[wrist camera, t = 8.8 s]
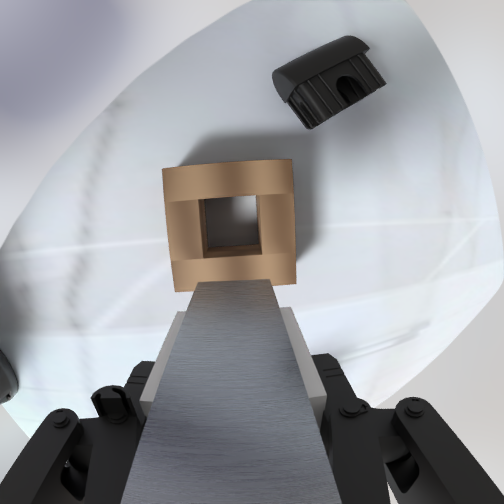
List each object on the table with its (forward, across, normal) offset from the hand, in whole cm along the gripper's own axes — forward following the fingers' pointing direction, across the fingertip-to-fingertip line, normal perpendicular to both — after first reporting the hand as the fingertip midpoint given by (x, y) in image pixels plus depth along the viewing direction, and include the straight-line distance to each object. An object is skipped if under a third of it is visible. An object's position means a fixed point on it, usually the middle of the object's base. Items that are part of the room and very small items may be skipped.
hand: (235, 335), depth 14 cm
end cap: (+19, -10, -19) cm, 29 cm away
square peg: (+3, 0, 0) cm, 3 cm away
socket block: (+19, 0, -3) cm, 19 cm away
